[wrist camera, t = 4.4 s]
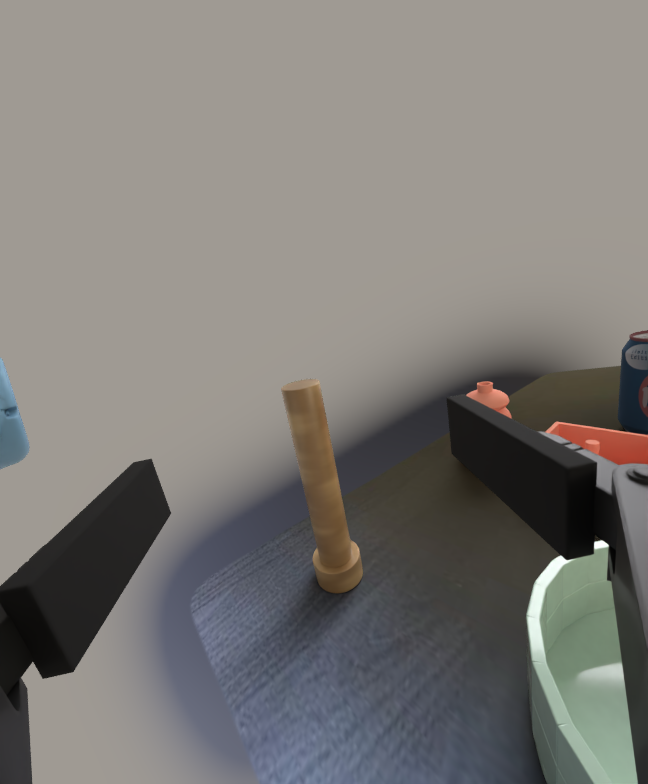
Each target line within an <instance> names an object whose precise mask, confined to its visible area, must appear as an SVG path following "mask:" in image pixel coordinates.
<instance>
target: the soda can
mask: <svg viewBox="0 0 648 784" xmlns="http://www.w3.org/2000/svg"><path fill="white" fill-rule="evenodd" d="M618 420H619V422H620V423H621V425H622V426H623V428H624V429H625V430H626V431H627V432H630V433H637V434H644V435H648V330H647V331H641V332H636V333H633V334H631V335H630V340H629V341H628V342H627V344H626V345H625V346H624V348H623V349H622V360H621V375H620V391H619V407H618Z"/></svg>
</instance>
